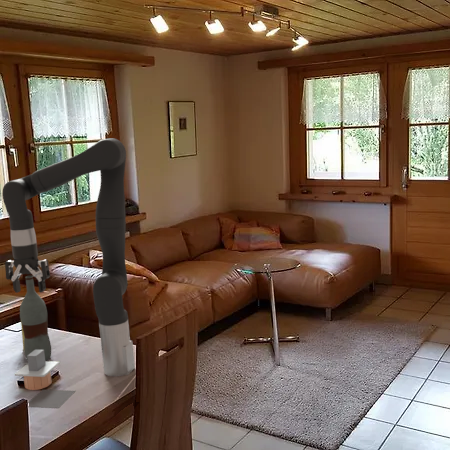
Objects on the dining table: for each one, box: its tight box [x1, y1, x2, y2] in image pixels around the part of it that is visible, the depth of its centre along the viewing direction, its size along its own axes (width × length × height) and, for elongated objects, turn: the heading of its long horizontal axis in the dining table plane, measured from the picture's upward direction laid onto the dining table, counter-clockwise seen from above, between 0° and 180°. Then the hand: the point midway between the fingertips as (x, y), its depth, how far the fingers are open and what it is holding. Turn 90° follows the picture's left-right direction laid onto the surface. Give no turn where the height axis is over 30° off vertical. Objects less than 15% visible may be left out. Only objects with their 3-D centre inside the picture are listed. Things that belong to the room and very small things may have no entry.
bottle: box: [19, 275, 52, 363], centre depth 204 cm, size 9×9×30 cm
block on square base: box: [13, 350, 61, 377], centre depth 184 cm, size 10×10×6 cm
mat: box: [27, 389, 76, 409], centre depth 175 cm, size 11×11×1 cm
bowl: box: [23, 371, 53, 391], centre depth 185 cm, size 8×8×5 cm
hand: (29, 291), depth 189 cm, fingers open, 8 cm apart
